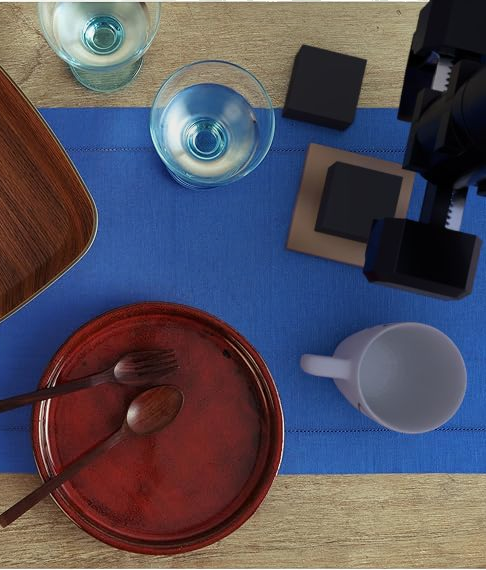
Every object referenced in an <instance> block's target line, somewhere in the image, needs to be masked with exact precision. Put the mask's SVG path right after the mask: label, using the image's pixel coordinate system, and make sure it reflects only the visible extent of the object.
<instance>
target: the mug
mask: <svg viewBox="0 0 486 570" xmlns="http://www.w3.org/2000/svg"><path fill="white" fill-rule="evenodd" d="M299 361H300V363H299V366H300V368H301V370H303V372H305V373H307V374H309V375H312V376H317V377H324V378H331V379H332V380H333V382H334V384H335V386H336V388H337V389H338V391H339V392H340V393H341V394H342V395H343V397H344V398H345V399H346V400H347V401H348V402H349V403H350V404H351V405H352V407H353V408H355V409H356V410H357V411H359V412H360V413H361V414H362V415H365V416H366V417H367V418H369V419H371V420H372V421H374V422H375V423H377V424H379V425H380V426H382V427H383V428H386V429H388V430H391V431H393V432H397V433H401V434H407V435H417V434H423V433H428V432H430V431H433V430H435V429H438V428H440V427H441V426H443V425H444V424H446V423H447V422H448V421H449V420H450V419H451V418H453V416H454V415H456V413H457V412H458V410H459V409H460V407H461V404H462V403H463V400H464V398H465V395H466V391H467V384H468V374H467V368H466V364H465V361H464V358H463V356H462V354H461V351H460V349H458V347H457V345H456V344H455V343H454V342H453V340H452V339H451V338H450V337H449V336H448V335H447V334H446V333H444V332H442V331H441V330H439V329H438V328H436V327H434V326H432V325H430V324H426V323H422V322H417V321H397V322H389V323H383V324H377V325H376V324H375V325H374V326H373V325H372V326H370V327H366V328H364V329H361V330H360V331H357V332H355V333H353V334H351V335H349V336H347V337H345V339H342V340H341V342H340V343H339V344H338V345H337V347H336V348H335V349H334V352H333V354H332V356H328V355H319V354H311V353H304V354H302V355H301V357H300V360H299Z"/></svg>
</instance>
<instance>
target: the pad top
mask: <svg viewBox="0 0 486 570" xmlns="http://www.w3.org/2000/svg"><path fill="white" fill-rule="evenodd" d="M367 64H368V59H366V58H362V57H358V56H354V55H349V54H346V53H342V52H337V51H334V50H329V49H326V48H321V47H317V46H312V45H309V44H304V43H302V44H301V46H300V47H299V49H298V51H297V52H296V54H295V56H294V60H293V65H292V68H291V73H290V78H289V82H288V86H287V90H286V95H285V98H284V103H283V108H282V112H281V118H286V119H290V120H293V121H297V122H300V123H305V124H306V123H307V124H310V125H314V126H319V127H321V128H322V127H323V128H326V129H331V130H335V131H339V132H344V133H345V132H346V130H348V129H349V128H350V127H351V126H352V125H353V124H354V122H355V117H356V114H357V108H358V103H359V99H360V94H361V92H362V91H361V90H362V85H363V81H364V77H365V73H366V68H367Z"/></svg>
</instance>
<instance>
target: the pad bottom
mask: <svg viewBox="0 0 486 570" xmlns="http://www.w3.org/2000/svg"><path fill="white" fill-rule="evenodd" d="M402 181H403V177H402V176H398V175H393V174H389V173H385V172H381V171H377V170H373V169H369V168H364V167H360V166H356V165H352V164H348V163H344V162H339V161H336V162H335V163H334V164H332V165H331V166H330V167H329V168H328V171H327V175H326V179H325V184H324V188H323V193H322V197H321V202H320V206H319V210H318V215H317V219H316V224H315V228H314V231H316V232H320V233H324V234H328V235H332V236H336V237H341V238H345V239H349V240H353V241H357V242H361V243H366V244H367V241H368V237H369V232H370V228H371V223H372V219H377V220H379V219H382V218H385V217H388V218H395V213H396V209H397V204H398V199H399V195H400V190H401V186H402Z"/></svg>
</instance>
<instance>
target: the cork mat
mask: <svg viewBox="0 0 486 570" xmlns="http://www.w3.org/2000/svg"><path fill="white" fill-rule="evenodd" d="M336 161H339V162H344V163H348V164H352V165H356V166H360V167H364V168H369V169H373V170H377V171H381V172H385V173H389V174H393V175H398V176H402V177H403V181H402V186H401V190H400V195H399V199H398V204H397V209H396V213H395V218H406V219H407V215H408V210H409V205H410V201H411V196H412V192H413V188H414V182H415V178H416V172H412V171H408V170H404V169H401V168H402V164H403V163H399V162H394V161H390V160H386V159H381V158H377V157H374V156H369V155H365V154H361V153H358V152H357V153H356V152H352V151H348V150H345V149H344V150H343V149H340V148H336V147H332V146H327V145H323V144H320V143H315V142H310V143H309V144H308V145H307V148H306V152H305V157H304V160H303V165H302V170H301V174H300V178H299V182H298V187H297V191H296V196H295V201H294V205H293V210H292V213H291V219H290V223H289V225H288V231H287V235H286V239H285V244H284V248H283V249H284V250H286V251H290V252H293V253H294V252H295V253H298V254H302V255H306V256H311V257H315V258H318V259H323V260H327V261H331V262H336V263H339V264H343V265H348V266H351V267H356V268H360V269H363V267H364V263H365V251H366V246H367V244H366V243H361V242H357V241H353V240H349V239H345V238H341V237H336V236H332V235H328V234H324V233H320V232H316V231H314V228H315V224H316V219H317V215H318V210H319V206H320V202H321V197H322V193H323V188H324V184H325V179H326V175H327V171H328V168H329V167H330V166H331V165H332V164H334V163H335V162H336Z"/></svg>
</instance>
